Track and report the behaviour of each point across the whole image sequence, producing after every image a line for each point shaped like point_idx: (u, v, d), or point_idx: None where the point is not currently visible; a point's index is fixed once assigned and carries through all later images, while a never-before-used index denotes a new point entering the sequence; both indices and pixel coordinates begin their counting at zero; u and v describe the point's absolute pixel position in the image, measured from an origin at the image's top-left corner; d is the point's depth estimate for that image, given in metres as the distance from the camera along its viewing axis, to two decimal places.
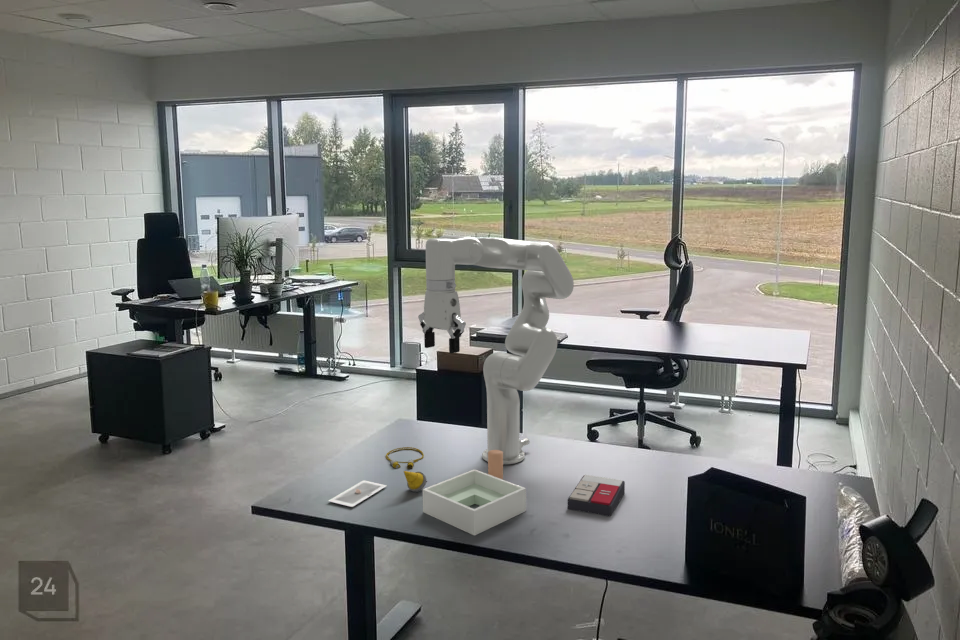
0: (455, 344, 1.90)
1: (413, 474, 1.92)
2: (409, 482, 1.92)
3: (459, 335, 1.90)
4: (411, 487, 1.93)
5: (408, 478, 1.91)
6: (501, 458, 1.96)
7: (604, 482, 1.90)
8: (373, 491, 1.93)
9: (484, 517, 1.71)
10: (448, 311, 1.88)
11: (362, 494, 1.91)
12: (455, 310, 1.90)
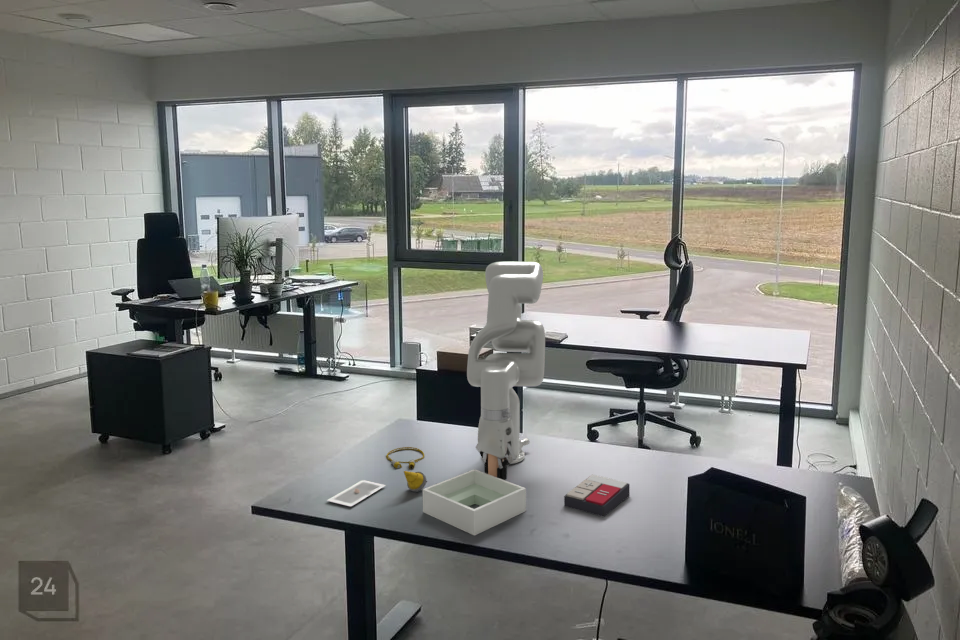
0: (503, 473, 1.95)
1: (413, 474, 1.92)
2: (409, 482, 1.92)
3: (507, 465, 1.95)
4: (411, 487, 1.93)
5: (408, 478, 1.91)
6: None
7: (607, 483, 1.90)
8: (372, 490, 1.93)
9: (484, 517, 1.71)
10: (503, 440, 1.92)
11: (361, 494, 1.91)
12: (510, 438, 1.93)
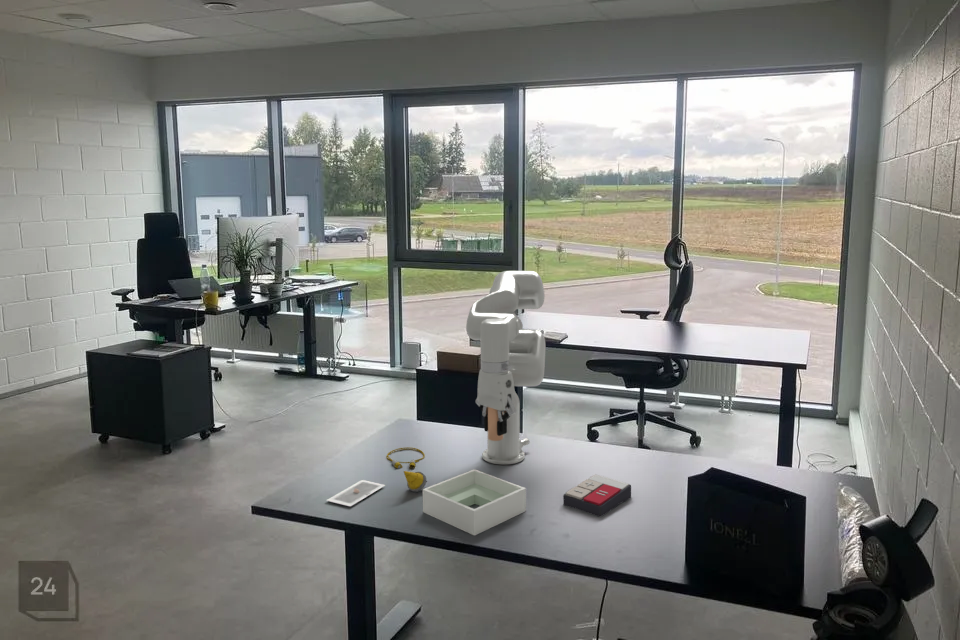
0: (503, 427, 1.94)
1: (413, 474, 1.92)
2: (409, 482, 1.92)
3: (507, 418, 1.93)
4: (411, 487, 1.93)
5: (408, 478, 1.91)
6: None
7: (609, 483, 1.89)
8: (371, 490, 1.93)
9: (484, 517, 1.71)
10: (503, 393, 1.90)
11: (360, 494, 1.91)
12: (510, 391, 1.91)
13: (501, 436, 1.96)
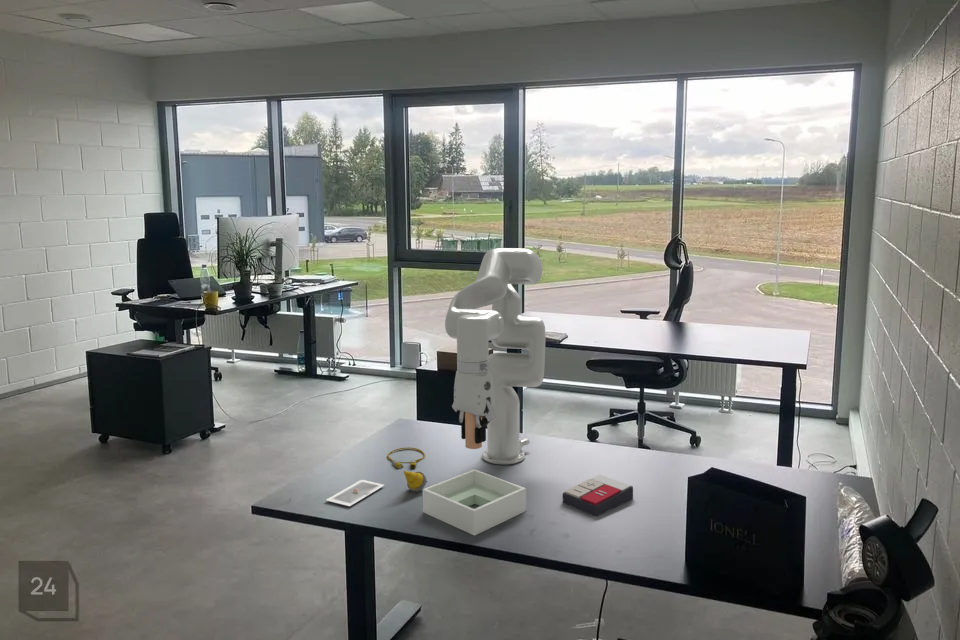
0: (481, 434, 1.75)
1: (413, 474, 1.92)
2: (409, 482, 1.92)
3: (486, 424, 1.75)
4: (411, 487, 1.93)
5: (408, 478, 1.91)
6: None
7: (610, 484, 1.89)
8: (371, 490, 1.94)
9: (484, 517, 1.71)
10: (482, 396, 1.72)
11: (360, 493, 1.92)
12: (489, 394, 1.73)
13: (480, 444, 1.77)
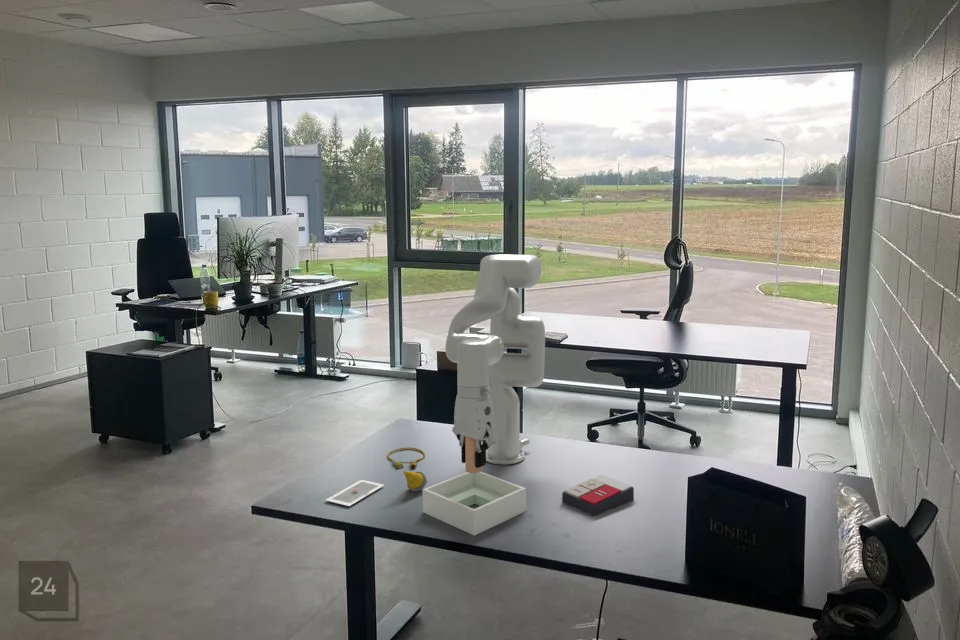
0: (481, 458, 1.76)
1: (413, 474, 1.92)
2: (409, 482, 1.92)
3: (486, 448, 1.76)
4: (411, 487, 1.93)
5: (408, 478, 1.91)
6: None
7: (611, 484, 1.89)
8: (370, 490, 1.94)
9: (484, 517, 1.71)
10: (482, 421, 1.73)
11: (359, 493, 1.92)
12: (489, 419, 1.74)
13: (480, 468, 1.78)
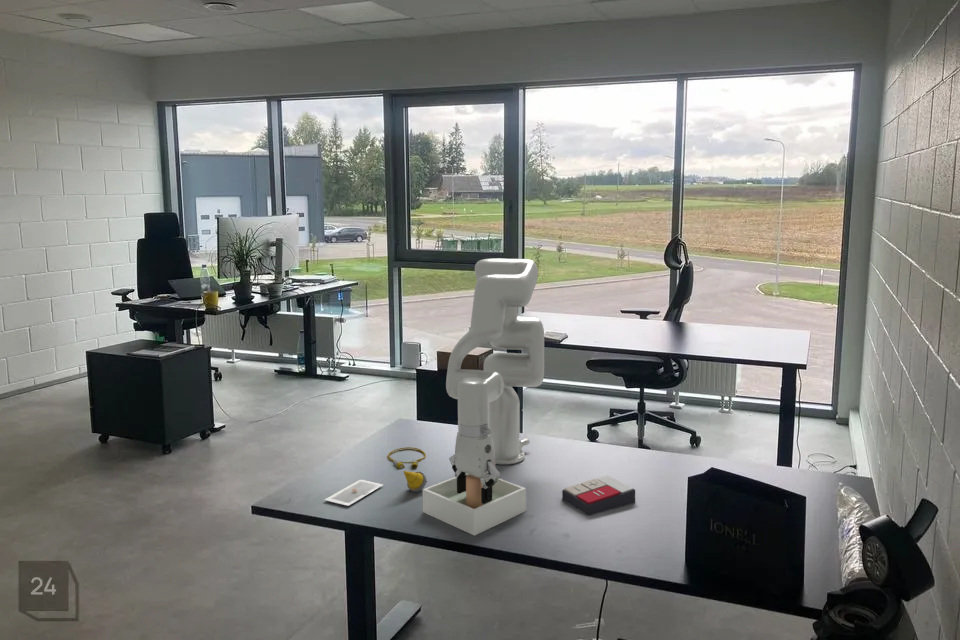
0: (488, 494, 1.77)
1: (413, 474, 1.92)
2: (409, 482, 1.92)
3: (492, 485, 1.76)
4: (411, 487, 1.93)
5: (408, 478, 1.91)
6: (480, 484, 1.79)
7: (613, 485, 1.88)
8: (369, 490, 1.94)
9: (484, 517, 1.71)
10: (482, 459, 1.75)
11: (358, 493, 1.92)
12: (489, 457, 1.76)
13: None
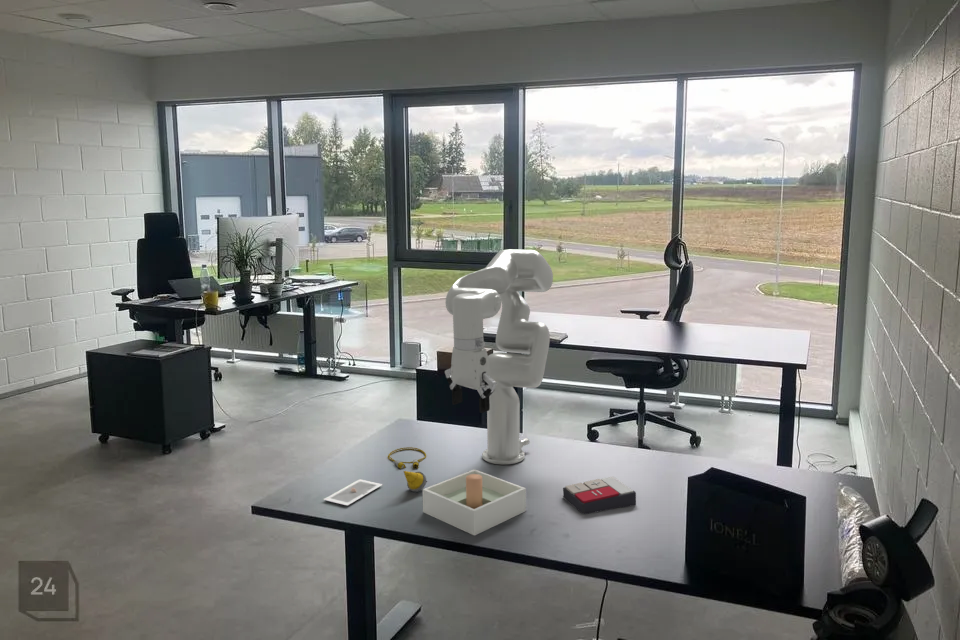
0: (485, 403, 1.84)
1: (413, 474, 1.92)
2: (409, 482, 1.92)
3: (489, 394, 1.84)
4: (411, 487, 1.93)
5: (408, 478, 1.91)
6: (480, 484, 1.79)
7: (614, 486, 1.87)
8: (368, 490, 1.94)
9: (484, 517, 1.71)
10: (478, 371, 1.82)
11: (357, 493, 1.92)
12: (485, 369, 1.83)
13: None
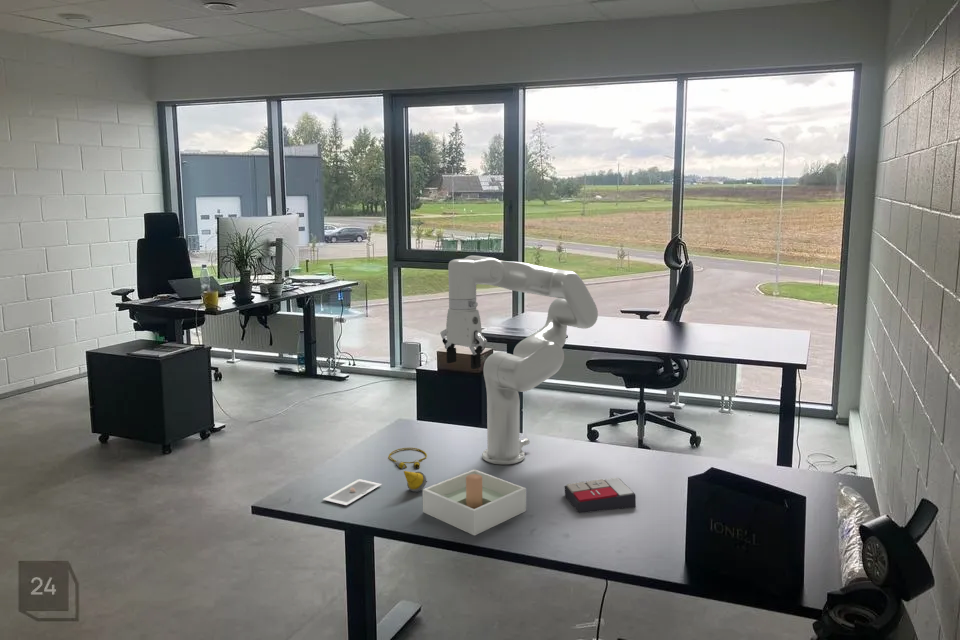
0: (477, 360, 1.99)
1: (413, 474, 1.92)
2: (409, 482, 1.92)
3: (480, 351, 1.99)
4: (411, 487, 1.93)
5: (408, 478, 1.91)
6: (480, 484, 1.79)
7: (615, 487, 1.87)
8: (368, 489, 1.94)
9: (484, 517, 1.71)
10: (470, 329, 1.98)
11: (357, 493, 1.92)
12: (476, 328, 1.99)
13: None
